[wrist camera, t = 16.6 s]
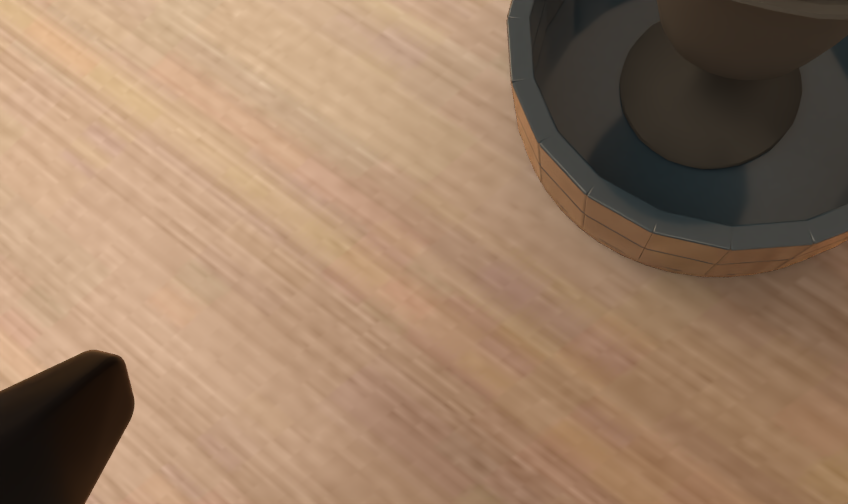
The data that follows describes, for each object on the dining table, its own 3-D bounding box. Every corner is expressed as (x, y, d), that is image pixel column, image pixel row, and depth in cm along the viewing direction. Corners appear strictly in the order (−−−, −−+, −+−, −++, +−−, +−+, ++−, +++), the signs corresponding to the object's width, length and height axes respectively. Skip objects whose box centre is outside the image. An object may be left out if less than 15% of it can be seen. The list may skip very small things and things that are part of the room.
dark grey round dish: (1014, 99, 21) (1118, 28, 17) (696, 360, 21) (727, 349, 17) (720, -150, 24) (751, -259, 20) (443, 80, 24) (420, 16, 20)
